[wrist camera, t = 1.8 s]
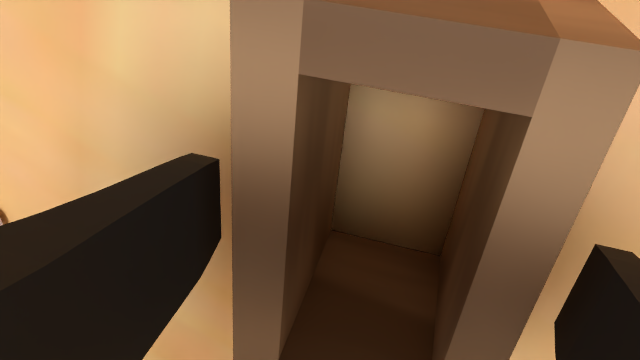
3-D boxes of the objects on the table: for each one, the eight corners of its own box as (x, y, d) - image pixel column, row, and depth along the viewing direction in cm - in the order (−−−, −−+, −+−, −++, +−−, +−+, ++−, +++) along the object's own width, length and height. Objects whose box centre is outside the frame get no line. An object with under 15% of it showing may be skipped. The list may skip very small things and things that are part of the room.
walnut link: (468, 291, 15) (467, 447, 11) (295, 248, 16) (233, 376, 12) (578, -17, 10) (654, 53, 6) (320, -53, 11) (230, -14, 7)
